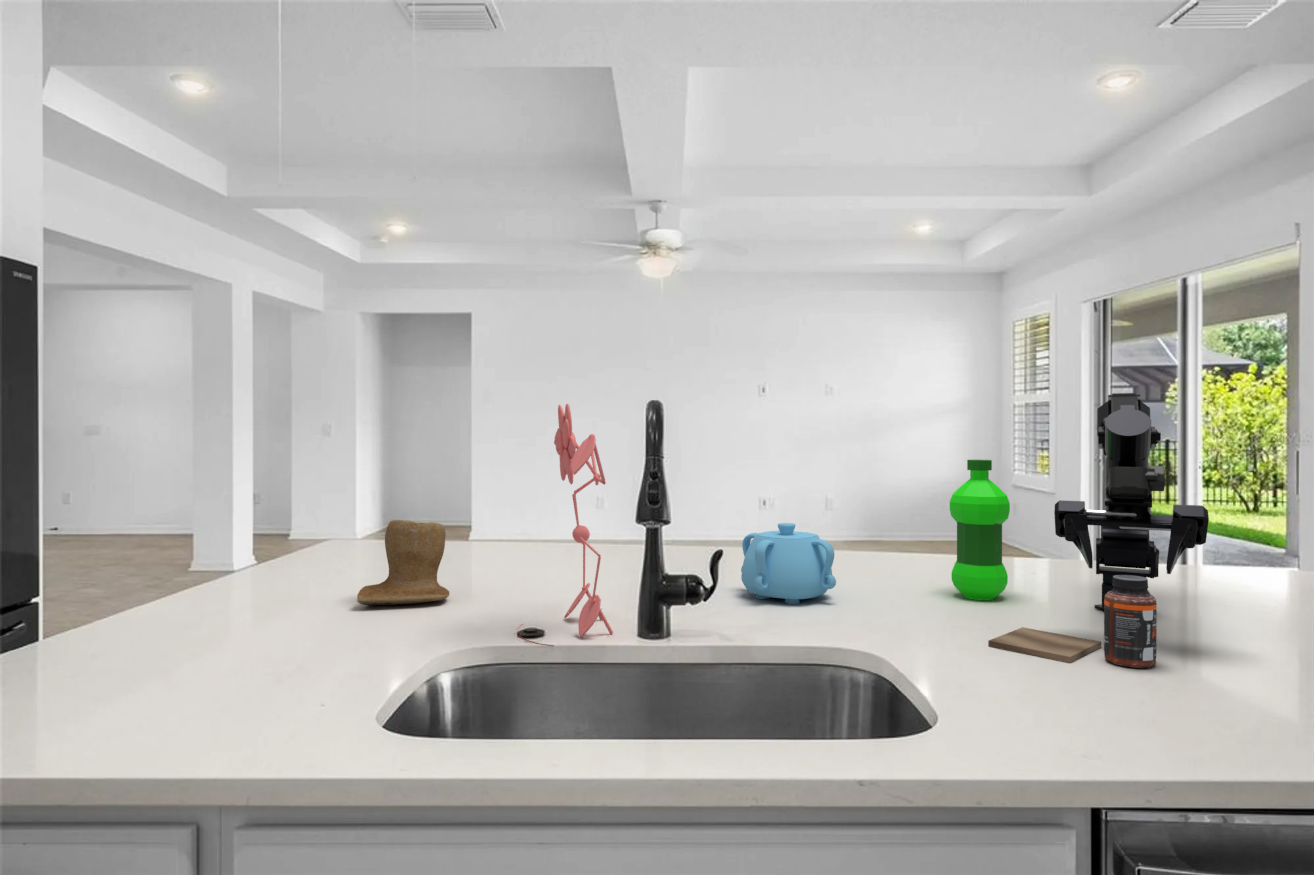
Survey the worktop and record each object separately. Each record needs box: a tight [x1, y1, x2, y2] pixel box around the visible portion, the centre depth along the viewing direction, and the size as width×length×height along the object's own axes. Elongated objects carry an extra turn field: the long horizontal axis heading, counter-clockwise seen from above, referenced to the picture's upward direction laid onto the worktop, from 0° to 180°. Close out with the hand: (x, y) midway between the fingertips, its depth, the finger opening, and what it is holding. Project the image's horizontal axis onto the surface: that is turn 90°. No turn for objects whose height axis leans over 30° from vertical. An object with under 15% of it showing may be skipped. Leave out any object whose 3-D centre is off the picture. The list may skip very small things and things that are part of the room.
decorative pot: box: [740, 522, 837, 605], centre depth 147 cm, size 16×16×14 cm
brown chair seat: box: [356, 519, 451, 606], centre depth 144 cm, size 15×12×15 cm
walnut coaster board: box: [987, 626, 1102, 664], centre depth 113 cm, size 11×11×1 cm
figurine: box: [513, 403, 614, 647], centre depth 124 cm, size 15×26×35 cm, turn 13°
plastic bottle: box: [949, 459, 1011, 601], centre depth 146 cm, size 10×10×25 cm
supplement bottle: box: [1103, 575, 1158, 669], centre depth 105 cm, size 6×6×11 cm
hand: (1129, 569), depth 109 cm, fingers open, 9 cm apart
